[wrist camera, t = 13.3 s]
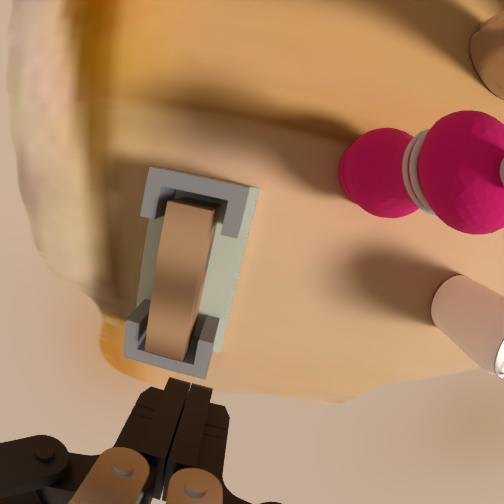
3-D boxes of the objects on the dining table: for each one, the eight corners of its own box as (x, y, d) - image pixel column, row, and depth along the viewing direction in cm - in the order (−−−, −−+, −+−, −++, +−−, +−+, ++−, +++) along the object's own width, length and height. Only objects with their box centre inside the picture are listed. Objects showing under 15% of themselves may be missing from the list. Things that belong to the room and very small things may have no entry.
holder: (162, 167, 28) (139, 164, 22) (259, 188, 28) (260, 190, 23) (136, 325, 31) (115, 353, 26) (221, 348, 32) (214, 381, 26)
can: (421, 325, 31) (479, 383, 19) (440, 268, 30) (512, 309, 18) (462, 331, 31) (521, 382, 20) (480, 279, 30) (549, 317, 18)
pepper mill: (389, 223, 29) (548, 288, 9) (321, 195, 28) (442, 227, 9) (413, 154, 27) (581, 141, 8) (347, 122, 27) (483, 45, 7)
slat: (185, 196, 28) (167, 201, 22) (221, 204, 28) (212, 211, 22) (163, 320, 30) (144, 350, 24) (195, 329, 30) (182, 361, 24)
